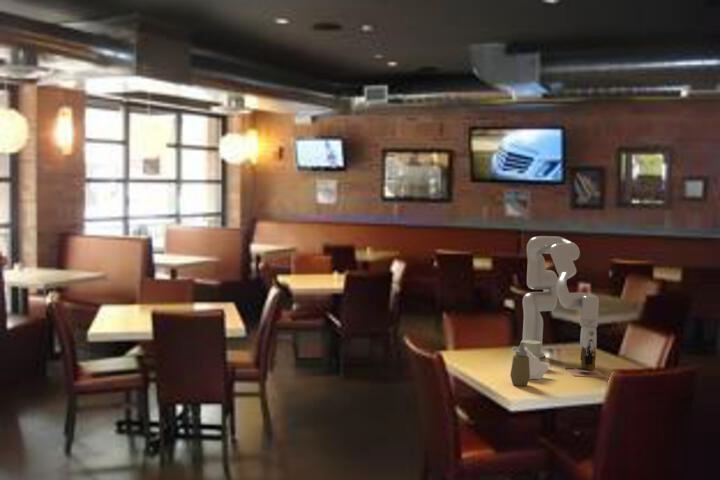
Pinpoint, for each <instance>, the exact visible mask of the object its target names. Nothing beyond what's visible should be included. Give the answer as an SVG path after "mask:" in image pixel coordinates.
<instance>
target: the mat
mask: <svg viewBox="0 0 720 480" xmlns="http://www.w3.org/2000/svg"><path fill="white" fill-rule="evenodd" d="M566 371H567V372H569V373H570V374H571V375H572V377H583V378H584V377H586V378H604V377H606V376H605V375H604V374H603V373H602V372H600V371H599V370H598V371H589V372H584V371H580V370H574V369H566Z"/></svg>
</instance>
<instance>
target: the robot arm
mask: <svg viewBox="0 0 720 480" xmlns="http://www.w3.org/2000/svg"><path fill="white" fill-rule="evenodd" d="M543 254H548V255H550V257H551V259H552V262H553V264H554V267H555V270H556V272H557V273H556V272H555V271H553V270H551V269H546V260H545V257H544V256H543ZM580 254H581V252H580V248H579V247H578V245H577V244H576V243H574V242H572V241H571V240H568V239H566V238H564V237H561V236H556V235H555V236H553V235H552V236H551V235H550V236H548V235H539V236H534V237H531V238H530V239H529V240H528V242H527V244H526V259H527V267H526V285H527V287H528V289H531V290H543V291H532V292H527V293H525V295H523V298H522V310H523V312H522V313H523V320H522V321H523V323H522V324H523V325H522V326H523V327H522V340H535V341H539V342H541V348H540V359H543V358H544V354H545V353H543V350H542V349H543V333H544V318H543V316H542V314H541V312H551V311H554V310H555V309H556V307H557V304H558V300H559V304H560V305H561V307H562V308H563V309H566V310H580V319H579V326H580V327H581V328H580V337H579V339H580V340H579V344H580V346H581V349H580V360H581V359H582V349H583V347H584V348H585V349H586V355H585V364H592V362H593V350H594V349H595V350H596V349H597V344H598V343H597V339H598V338H597V335H598V334H597V328H598V323H599V321H598V320H599V308H600V307H599V303H600V298H599V297H598V296H597V295H592V294H589V293H587V292H570V291H569V288H568V285H567V281H568V280H569V279H570V278H572V277H574V276H575V275H576V274H577V271H578V270H577V267H576V266H575V263H574V261H577V260H578V259H579V258H580V256H581V255H580ZM557 274H558V275H557ZM511 347H512V348H511V350H512V351H515V352H516V350H518V349H519V346H511ZM588 347H590V348H588ZM588 350H589V351H588Z"/></svg>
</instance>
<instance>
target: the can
mask: <svg viewBox="0 0 720 480" xmlns="http://www.w3.org/2000/svg"><path fill="white" fill-rule="evenodd" d="M520 342H523V343H524V347H526V348H528V350H529V351H530V352H531V353H533V355H534V356H536V357H537V358H538V359H539V360H540V361H541V358H540V348H541V342H539V341H535V340H523V339H522V340H521V341H520Z"/></svg>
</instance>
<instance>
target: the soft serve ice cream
mask: <svg viewBox="0 0 720 480" xmlns="http://www.w3.org/2000/svg"><path fill="white" fill-rule="evenodd" d="M524 350H525V351H527V355H526V356H528V357H529V368H530V379H529V381H530V380H541V379H542V378H544V376H545V374H546V372H547V371H548V369H549V364H548V363H544V362H541V359H540V360H539V359H538V358H537V357H536V356H534V355H533V353H531V352H530V351H529V350H528V348H526V347H524Z"/></svg>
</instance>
